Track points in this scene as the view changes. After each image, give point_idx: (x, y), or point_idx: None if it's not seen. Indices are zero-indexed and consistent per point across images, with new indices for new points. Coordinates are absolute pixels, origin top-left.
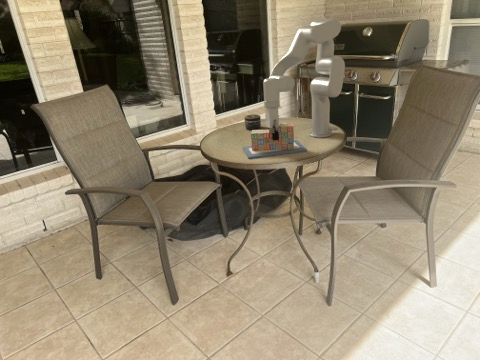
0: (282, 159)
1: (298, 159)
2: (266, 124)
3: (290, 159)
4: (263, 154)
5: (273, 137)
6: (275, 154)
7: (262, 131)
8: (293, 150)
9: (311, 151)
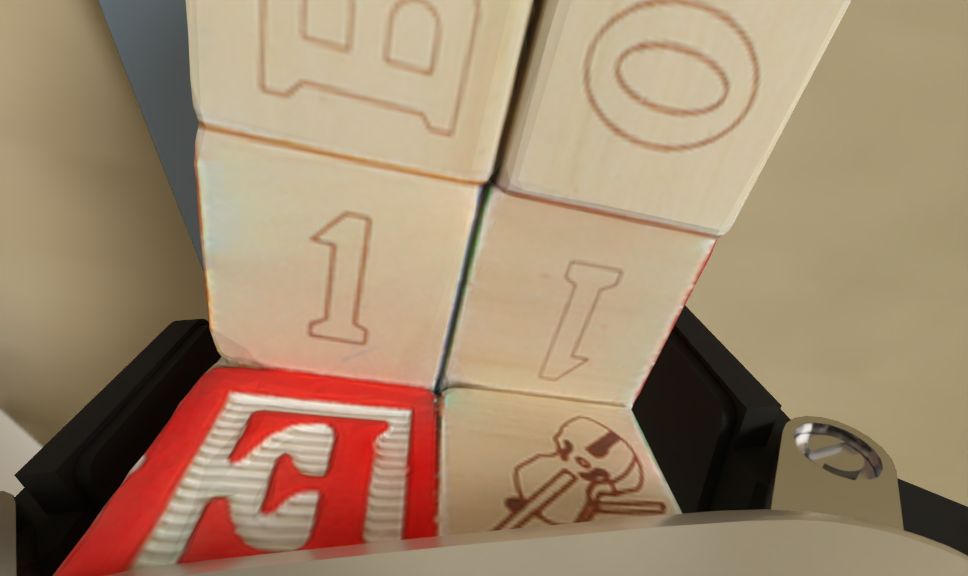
0: (31, 283)
1: (53, 432)
2: (664, 573)
3: (43, 365)
4: (137, 26)
5: (144, 378)
6: (199, 231)
7: (466, 144)
8: None
9: None
